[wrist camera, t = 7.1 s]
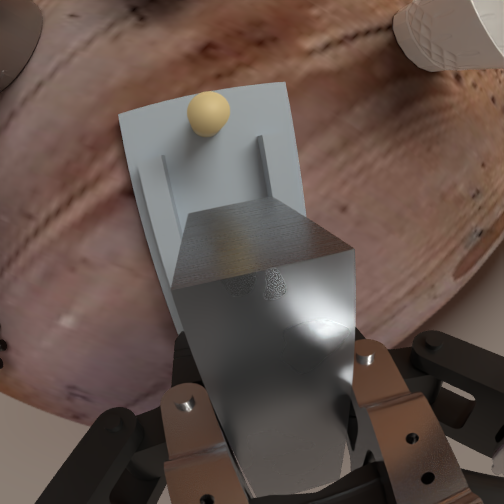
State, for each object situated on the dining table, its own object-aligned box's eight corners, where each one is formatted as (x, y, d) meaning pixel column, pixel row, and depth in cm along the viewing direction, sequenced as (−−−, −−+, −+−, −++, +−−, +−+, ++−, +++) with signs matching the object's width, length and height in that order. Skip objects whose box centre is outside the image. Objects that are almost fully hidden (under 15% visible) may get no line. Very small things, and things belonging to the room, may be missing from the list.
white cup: (376, 40, 17) (461, 5, 8) (396, -10, 15) (466, -45, 6) (438, 94, 19) (524, 90, 10) (453, 41, 17) (526, 28, 8)
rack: (122, 116, 16) (91, 103, 11) (281, 84, 18) (312, 61, 12) (190, 358, 24) (191, 410, 18) (313, 329, 25) (339, 373, 19)
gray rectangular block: (188, 213, 10) (170, 290, 4) (272, 196, 10) (354, 249, 5) (237, 395, 13) (259, 501, 7) (296, 380, 13) (339, 479, 8)
